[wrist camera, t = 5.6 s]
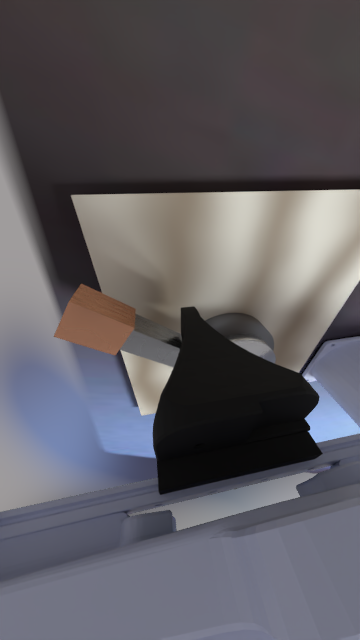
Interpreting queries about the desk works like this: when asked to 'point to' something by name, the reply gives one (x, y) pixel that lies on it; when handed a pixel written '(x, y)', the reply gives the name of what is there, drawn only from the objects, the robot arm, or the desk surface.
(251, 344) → the frying pan
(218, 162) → the desk surface
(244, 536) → the robot arm
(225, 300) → the board
